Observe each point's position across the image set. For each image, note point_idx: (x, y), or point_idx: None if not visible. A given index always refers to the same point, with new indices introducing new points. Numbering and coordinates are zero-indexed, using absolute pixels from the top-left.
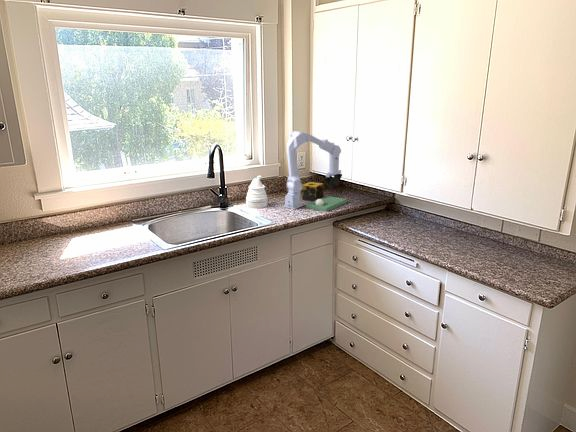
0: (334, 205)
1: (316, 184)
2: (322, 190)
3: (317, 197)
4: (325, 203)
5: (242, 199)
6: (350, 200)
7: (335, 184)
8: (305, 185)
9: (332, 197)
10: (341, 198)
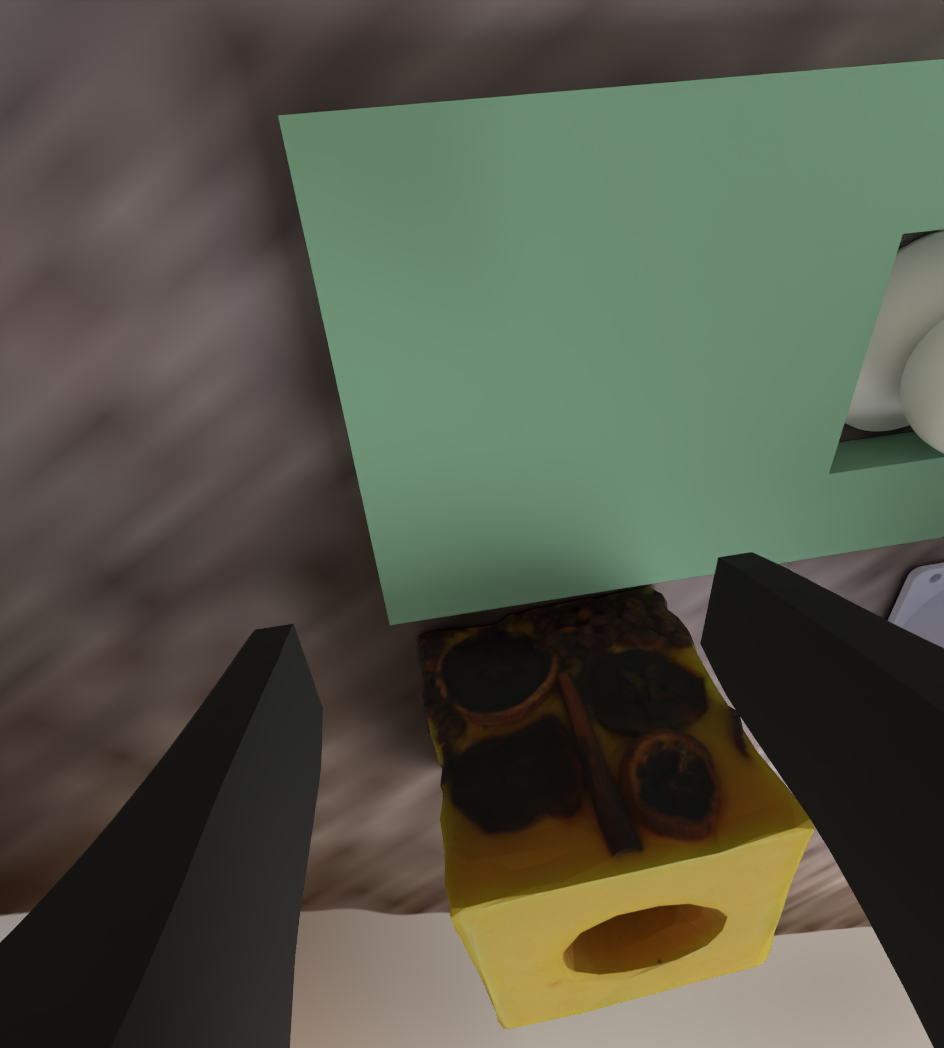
0: (932, 62)
1: (611, 915)
2: (449, 757)
3: (633, 637)
4: (861, 337)
5: (848, 925)
6: (61, 162)
7: (313, 723)
8: (771, 936)
9: (416, 502)
10: (335, 301)
